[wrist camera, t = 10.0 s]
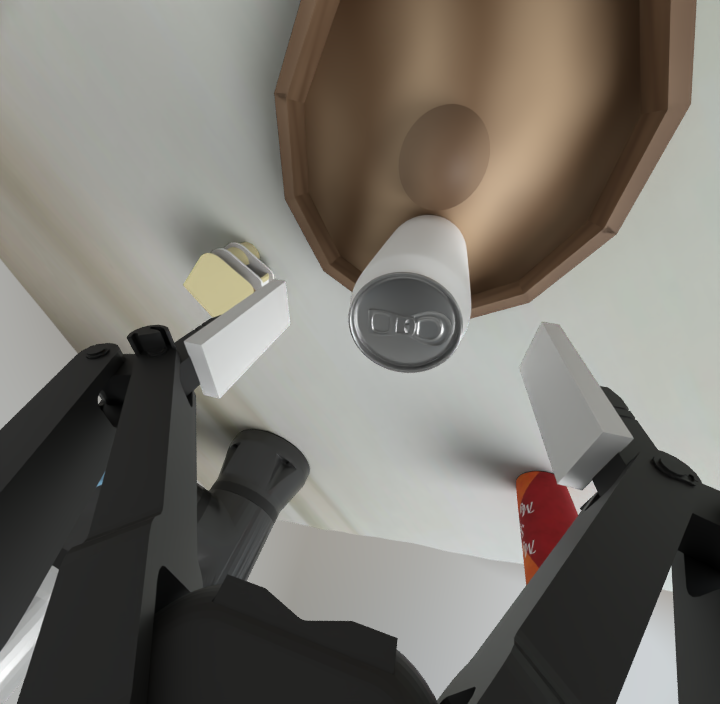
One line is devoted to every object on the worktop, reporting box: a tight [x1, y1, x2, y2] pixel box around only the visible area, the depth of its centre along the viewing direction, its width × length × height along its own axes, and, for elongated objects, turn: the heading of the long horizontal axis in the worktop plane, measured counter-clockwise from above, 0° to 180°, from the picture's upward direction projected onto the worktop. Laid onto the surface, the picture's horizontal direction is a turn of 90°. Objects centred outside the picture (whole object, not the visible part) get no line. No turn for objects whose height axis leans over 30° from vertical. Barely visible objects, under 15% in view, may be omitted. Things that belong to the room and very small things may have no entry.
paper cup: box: [516, 471, 578, 585], centre depth 31 cm, size 8×8×14 cm
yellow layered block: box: [183, 242, 274, 317], centre depth 28 cm, size 10×9×6 cm
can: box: [349, 215, 471, 373], centre depth 18 cm, size 6×6×12 cm
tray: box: [274, 0, 697, 319], centre depth 19 cm, size 22×22×4 cm
